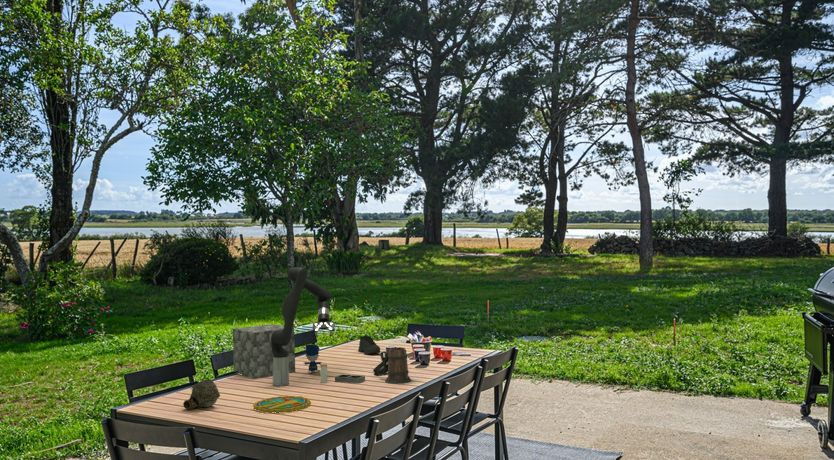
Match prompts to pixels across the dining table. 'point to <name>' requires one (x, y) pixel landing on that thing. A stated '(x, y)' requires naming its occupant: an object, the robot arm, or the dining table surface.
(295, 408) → the decorative plaque
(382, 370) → the toy gun
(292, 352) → the block
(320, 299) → the robot arm
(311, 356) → the figurine
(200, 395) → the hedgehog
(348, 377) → the divided rectangular frame
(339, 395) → the dining table surface
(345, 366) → the dining table surface
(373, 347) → the running shoe
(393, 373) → the tankard
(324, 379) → the two-tone square post
